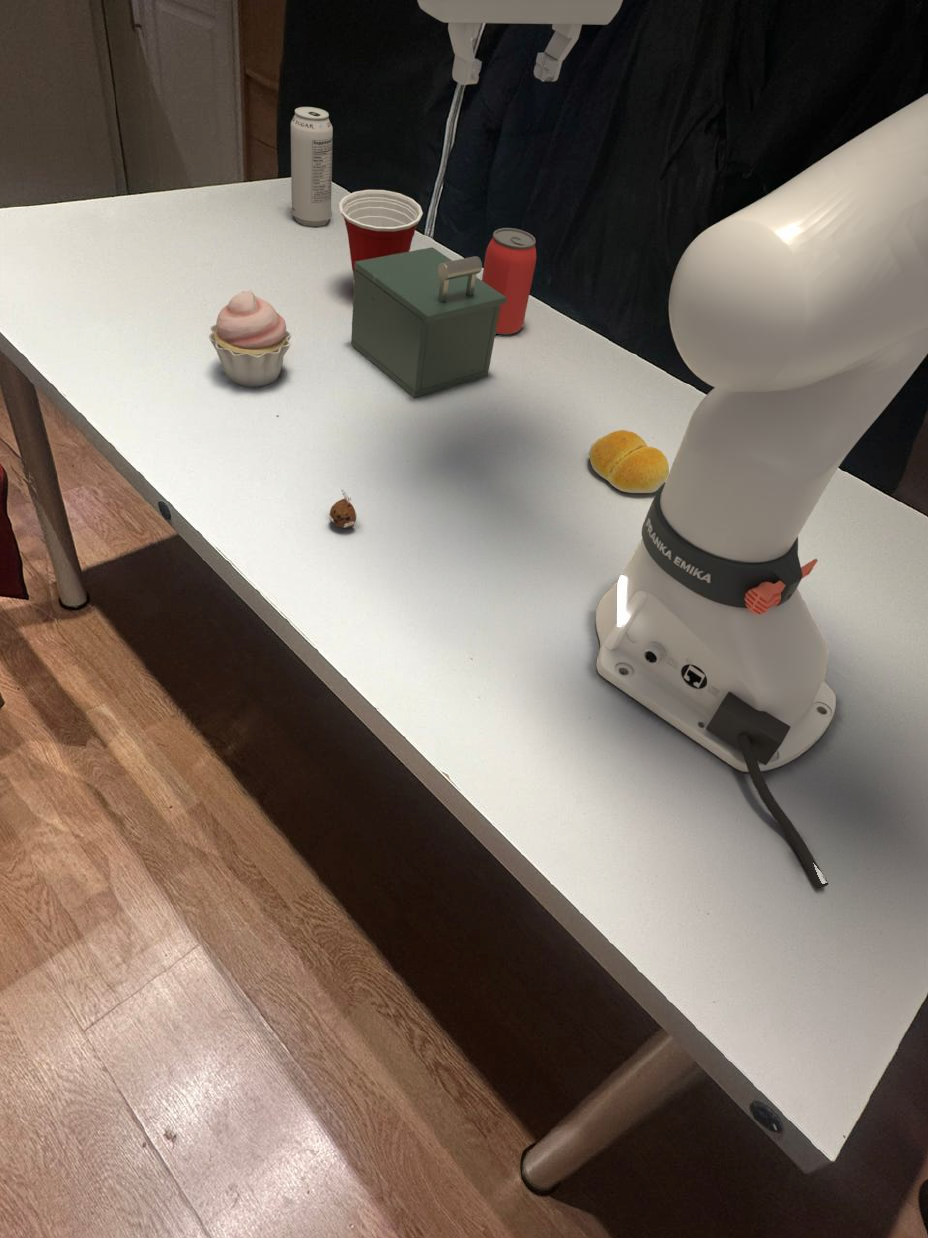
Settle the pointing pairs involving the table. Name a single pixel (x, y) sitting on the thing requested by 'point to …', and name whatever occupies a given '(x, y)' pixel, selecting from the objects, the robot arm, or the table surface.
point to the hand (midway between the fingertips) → (505, 80)
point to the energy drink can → (311, 166)
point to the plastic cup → (379, 223)
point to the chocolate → (343, 513)
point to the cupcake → (250, 340)
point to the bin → (420, 341)
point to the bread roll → (629, 462)
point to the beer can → (510, 274)
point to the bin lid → (432, 283)
